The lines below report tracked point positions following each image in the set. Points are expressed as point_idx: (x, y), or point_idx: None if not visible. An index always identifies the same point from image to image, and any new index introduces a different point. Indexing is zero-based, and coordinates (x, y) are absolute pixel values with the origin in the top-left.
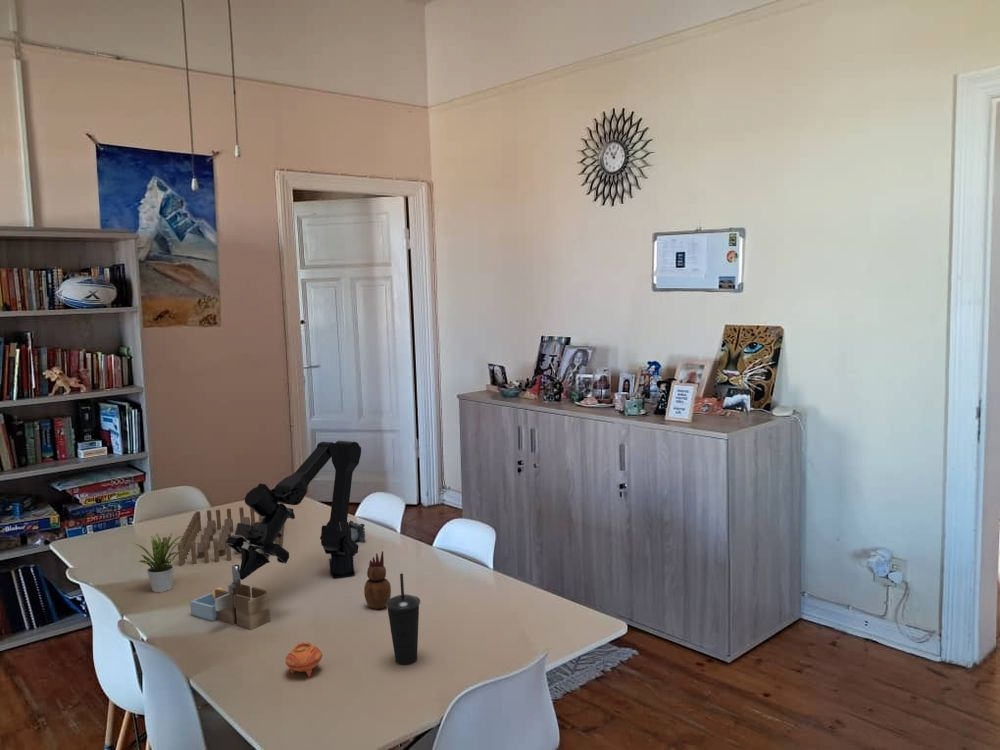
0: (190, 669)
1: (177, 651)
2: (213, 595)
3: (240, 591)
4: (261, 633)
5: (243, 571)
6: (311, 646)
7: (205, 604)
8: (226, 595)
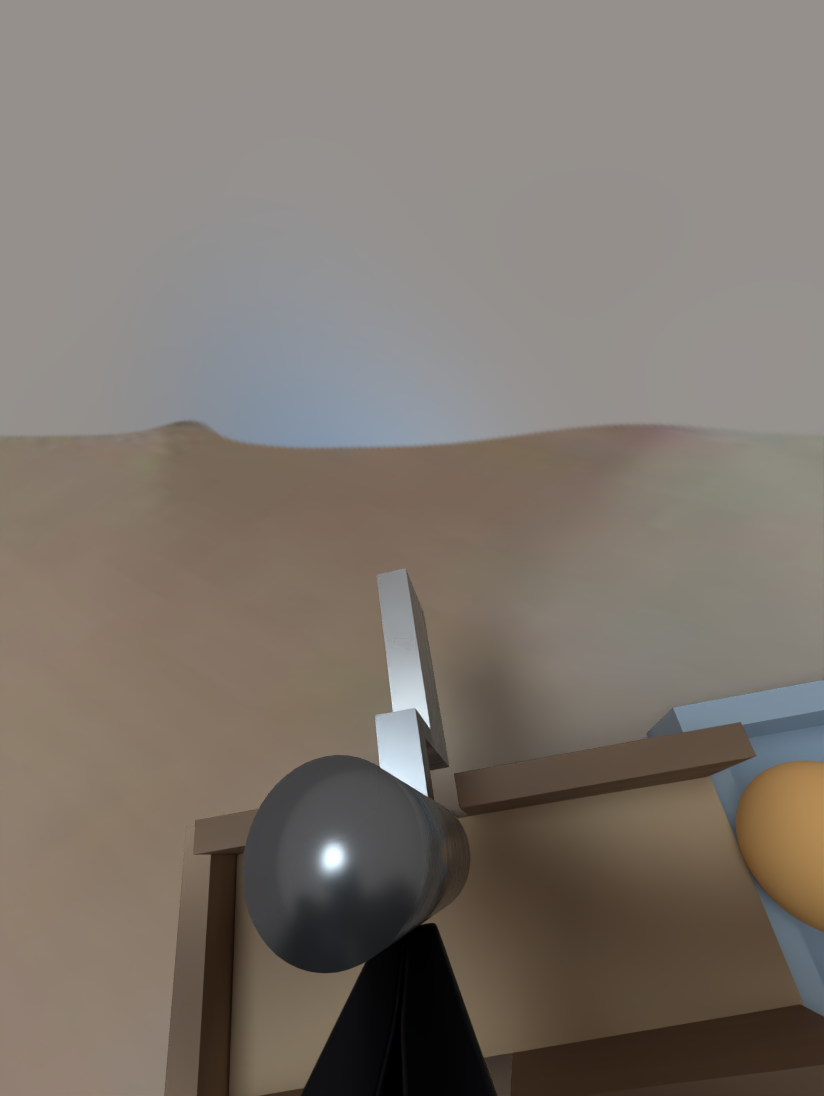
0: (216, 445)
1: (403, 459)
2: (800, 761)
3: (663, 1048)
4: None
5: (342, 1050)
6: None
7: (789, 706)
8: (389, 680)
